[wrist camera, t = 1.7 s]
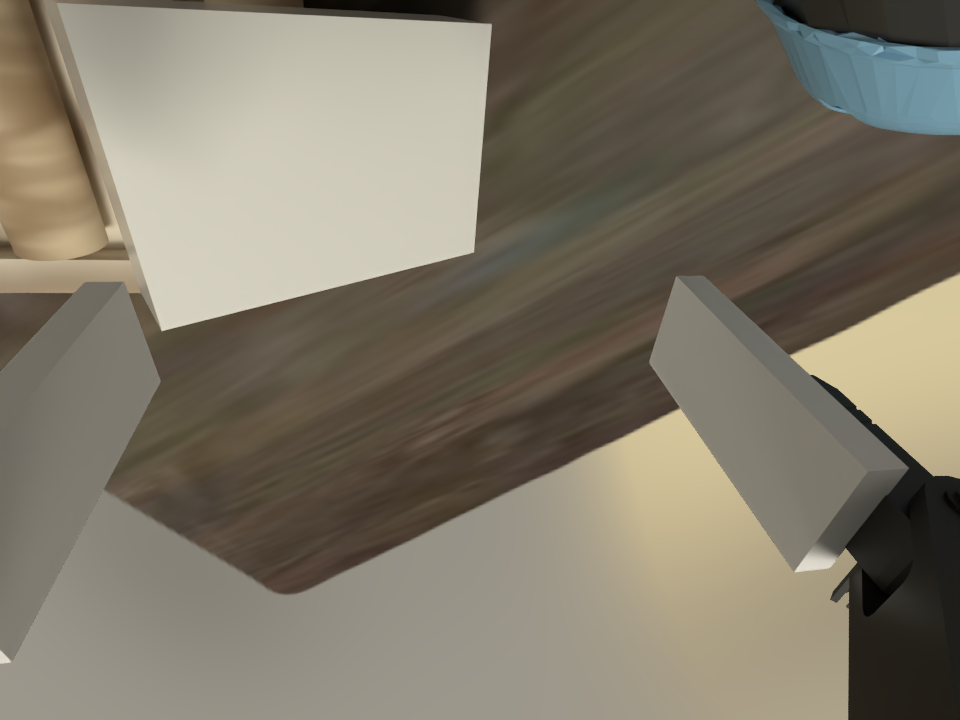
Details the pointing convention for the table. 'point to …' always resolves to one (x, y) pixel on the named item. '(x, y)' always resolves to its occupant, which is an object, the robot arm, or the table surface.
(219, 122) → the slab
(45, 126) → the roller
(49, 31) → the track
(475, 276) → the table surface
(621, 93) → the table surface
